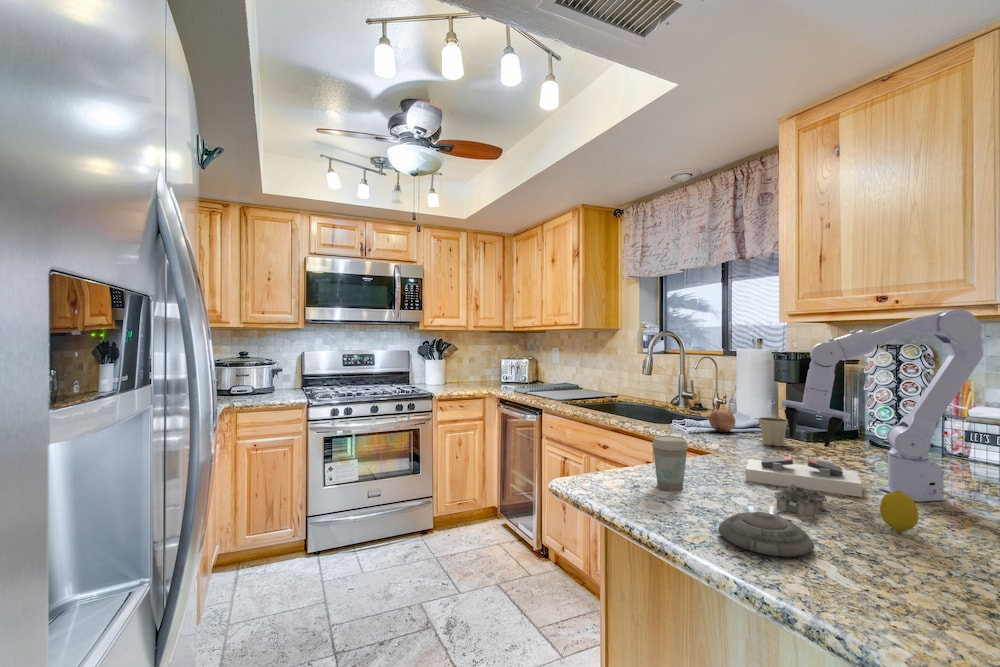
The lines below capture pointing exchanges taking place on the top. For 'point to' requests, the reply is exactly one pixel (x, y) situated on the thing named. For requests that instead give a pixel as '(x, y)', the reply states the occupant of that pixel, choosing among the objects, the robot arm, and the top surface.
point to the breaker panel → (804, 477)
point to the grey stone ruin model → (799, 500)
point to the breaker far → (777, 461)
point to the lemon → (899, 511)
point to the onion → (722, 420)
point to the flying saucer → (766, 534)
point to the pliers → (828, 461)
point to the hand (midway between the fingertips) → (808, 441)
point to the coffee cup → (670, 461)
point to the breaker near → (825, 466)
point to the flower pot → (773, 430)
